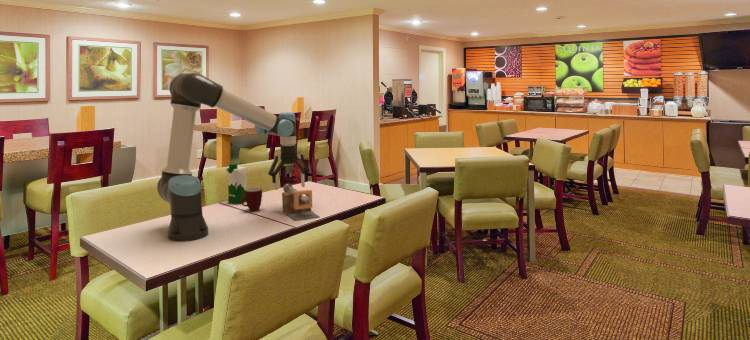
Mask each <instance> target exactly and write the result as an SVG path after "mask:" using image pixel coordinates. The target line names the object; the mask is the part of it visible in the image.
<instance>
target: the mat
mask: <svg viewBox="0 0 750 340" xmlns="http://www.w3.org/2000/svg"><path fill="white" fill-rule="evenodd" d="M286 216H287V217H289V218H290V219H291V220H293V221H295V222H297V221H303V220H310V219H319V218H321V216H320V215H318V214H317V213H315V212H313V211H312V210H311V211H307V212H300V213H292V214H287V215H286Z"/></svg>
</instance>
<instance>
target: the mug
mask: <svg viewBox="0 0 750 340" xmlns="http://www.w3.org/2000/svg"><path fill="white" fill-rule="evenodd" d="M245 198H246V202H245V203H246V204H245V203H243V200H244V199H245ZM262 198H263V190H262V188H259V187H252V188H251V187H250V188H247V189H245V196H244V197H242V199H241V205H242V206H243V207H247V208H248V210H250V212H256V211H259V209H260V207H261V205H262V201H263V200H262Z"/></svg>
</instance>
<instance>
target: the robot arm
mask: <svg viewBox="0 0 750 340" xmlns="http://www.w3.org/2000/svg"><path fill="white" fill-rule="evenodd" d="M168 89H169V94H170V95H171V96H170V105H171V107H172V108H173V111H172V112H173V113H172V120H171V128H170V135H169V137H170V138H169V147H168V154H167V159H166V160H167V162H166V166H165V167H164V168H162V170H161V176H160V178H159V179H158V182H157V183H156V191H157V193H158V195H159V197H160V198H161V199H162V200H163V201H165V202H167V203H169V205H170V218H171V219H170V222H169V225H168V229H167V238H168V240H171V241H175V240H176V242H178V241H179V242H180V241H181V242H183V241H186V240H188V241H194V240H198V239H202V238H205V237H206V236H207V235H209V227H208V225H207V222H206V220H205V217H204V215H203V214H204V213H203V201H202V185H201V180H200V179H199V178H198V177H197V176H194V175H193V172H192V171H191V170H190V162H191V155H192V147H193V139H194V131H195V123H196V117H197V116H196V115H197V112H198V111H199V110H200V109H201V105H205V106H208V107H210V108H212V109H213V108H218V109H220V110H223V111H224V112H225V113H226V112H227V113H229V114H231V115H233V116H235V117H236V118H237V117H238V118H240V119H242V120H244V121H245V122H248V123H250V124H253V125H254V130H255V132H256V134H258V135H271V136H277V137H280V138H279V139H280V141H279V142H280V155H276V154H275V155H274V157H273V161H272V163H271V165H270V168H269V171H268V172H267V176H268V175H269V176H270V177H271V178H272V179H271V182H272V184H274V190H276V191H278V189H279V187H278V186H279V185H278V181H279V180H278V176H277V175H278V174H279V173H280V171H281V170H282V168H283V167H284V166H285V165H293V164H294V165H295V166H296V167H297V168H298V170H300V172H301V173H300V180H301V182H300V183H301V184H300V185H301V187H302V188H305V185H306V183H305V182H306V180H307V174H308V173H310V171H311V170H310V168H309V167H308V165H307V163H306V161H305V158H304V154H303V153H299V154H297V145H296V144H297V132H296V131H297V129H296V127H297V125H296V122H297V121H296V114H295V113H294V112H288V111H287V112H286V111H285V112H280V113H278V114H279V115H278V116H277V115H276V114H274V113H272V112H270V111H267V110H266V109H264V108H262V107H260V106H258V105H255V104H253V102H252V103H251V102H250V101H248V100H245V99H243V98H242V97H239V96H238V95H236V94H233V93H232V92H230V91H228V90H225V88H224V86H222V85H221V84H220V83H217V82H216V81H214V80H212V79H210V78H208V77H206V76H204V74H200V73H196V72H191V73H190V72H189V73H187V72H183V73H180V74H177V75H176V76H174V77H173V78H172V79H171V81H170V82H169V87H168ZM297 159H299V160H300V162H301V164H302V166H301V164H300V163H299V162H298V161H297ZM280 160H281V161H280ZM279 161H280V162H279ZM278 162H279V164H278ZM277 164H278V165H277Z"/></svg>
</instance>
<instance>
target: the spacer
mask: <svg viewBox="0 0 750 340" xmlns="http://www.w3.org/2000/svg"><path fill="white" fill-rule="evenodd" d="M305 194H307V196H308V197H309V201H308V202H307V204H300V205H299V195H305ZM293 195H294V209H295V210H297V209H305V208H311V209H312V208H313V190H312V189H302V190H301V191H300V190H298V191H293Z"/></svg>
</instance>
